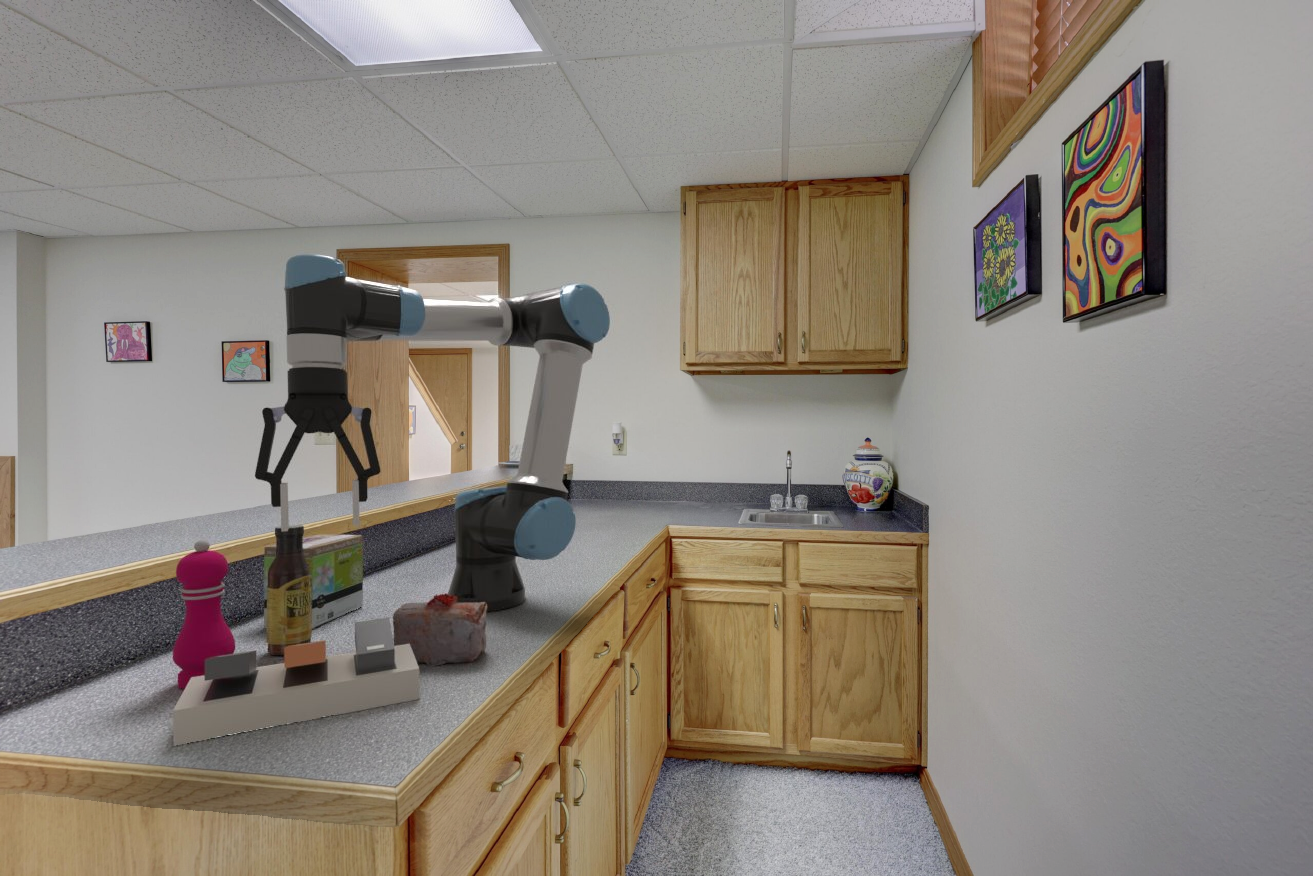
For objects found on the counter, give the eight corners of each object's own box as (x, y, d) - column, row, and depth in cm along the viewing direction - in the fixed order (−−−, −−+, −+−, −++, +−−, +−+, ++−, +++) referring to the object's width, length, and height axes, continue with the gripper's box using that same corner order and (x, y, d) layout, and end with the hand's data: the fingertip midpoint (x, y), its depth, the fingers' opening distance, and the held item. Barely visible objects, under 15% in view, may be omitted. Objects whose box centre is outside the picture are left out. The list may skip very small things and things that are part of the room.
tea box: (313, 631, 113) (311, 547, 113) (262, 629, 115) (260, 546, 115) (365, 607, 128) (363, 532, 128) (319, 605, 130) (317, 532, 130)
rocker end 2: (389, 632, 91) (389, 617, 90) (394, 665, 84) (394, 648, 84) (354, 637, 89) (354, 622, 89) (357, 671, 82) (357, 654, 82)
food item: (492, 648, 103) (491, 587, 103) (482, 667, 95) (480, 600, 95) (405, 651, 102) (404, 589, 102) (387, 670, 94) (386, 603, 94)
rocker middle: (325, 658, 87) (325, 639, 87) (325, 661, 80) (324, 641, 81) (288, 664, 85) (288, 645, 86) (284, 668, 78) (284, 647, 79)
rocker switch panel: (410, 671, 94) (409, 643, 94) (419, 699, 84) (419, 668, 84) (192, 708, 82) (191, 677, 82) (173, 746, 72) (172, 710, 72)
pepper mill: (243, 680, 91) (239, 539, 91) (180, 696, 86) (176, 546, 85) (227, 668, 96) (224, 533, 96) (167, 682, 91) (163, 540, 90)
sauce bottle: (291, 658, 100) (288, 530, 99) (257, 656, 101) (254, 529, 100) (322, 644, 106) (319, 523, 106) (289, 642, 107) (286, 523, 107)
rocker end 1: (256, 669, 83) (256, 649, 84) (249, 673, 76) (249, 652, 77) (215, 676, 81) (215, 655, 82) (204, 680, 74) (204, 658, 75)
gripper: (395, 371, 100) (398, 518, 100) (232, 367, 90) (236, 530, 90) (400, 367, 93) (403, 524, 93) (225, 362, 83) (229, 537, 84)
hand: (321, 527), depth 92 cm, fingers open, 8 cm apart
